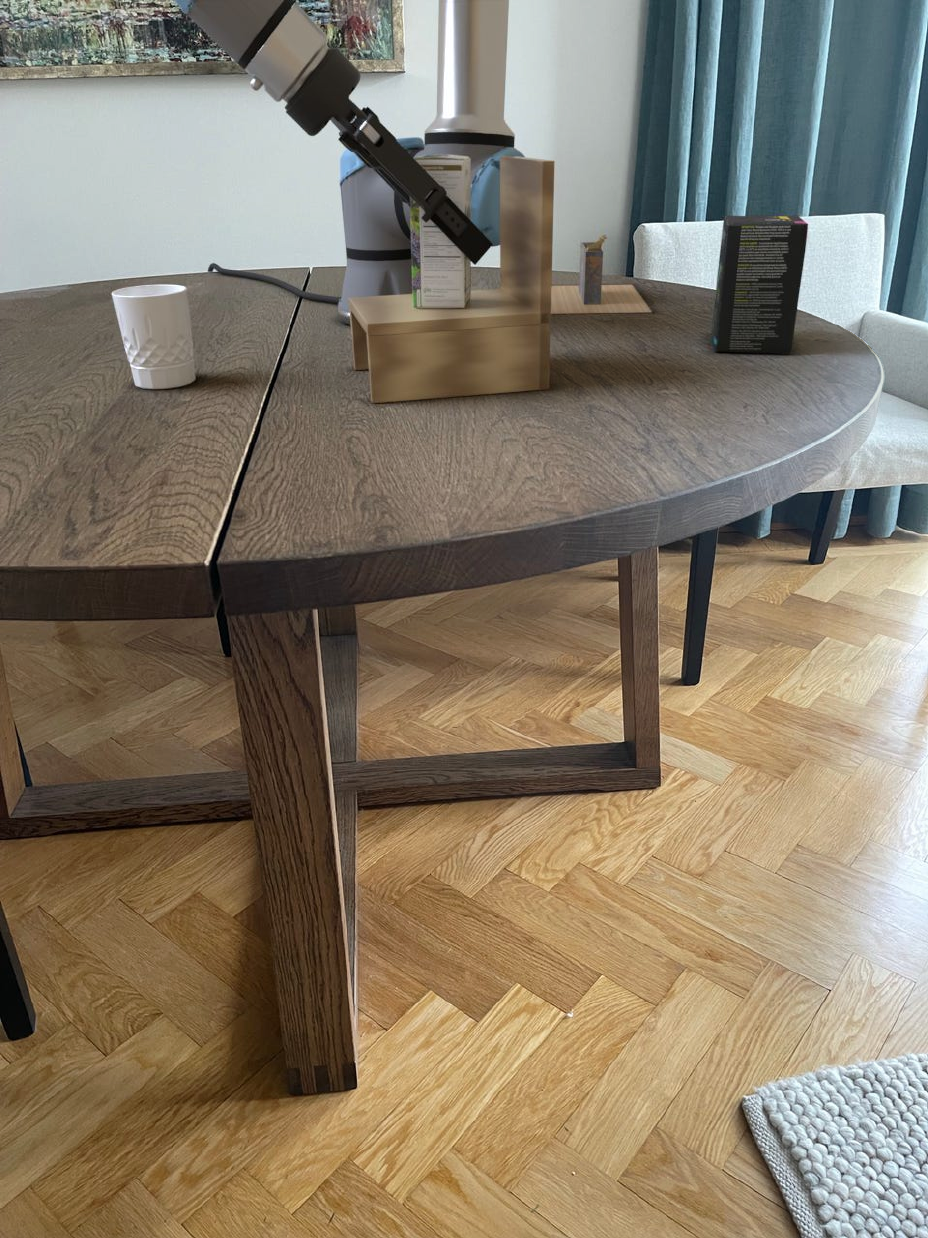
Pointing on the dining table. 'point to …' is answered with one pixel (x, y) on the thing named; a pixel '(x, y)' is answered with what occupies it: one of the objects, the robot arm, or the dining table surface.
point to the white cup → (156, 334)
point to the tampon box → (758, 283)
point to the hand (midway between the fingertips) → (474, 249)
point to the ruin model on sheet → (595, 289)
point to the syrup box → (441, 239)
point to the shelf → (472, 312)
